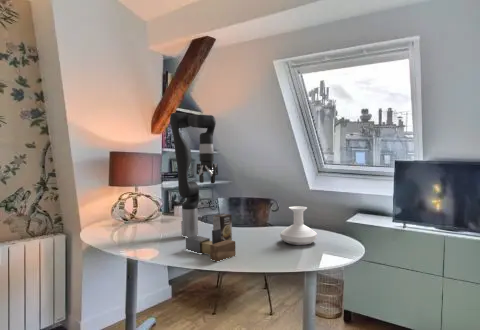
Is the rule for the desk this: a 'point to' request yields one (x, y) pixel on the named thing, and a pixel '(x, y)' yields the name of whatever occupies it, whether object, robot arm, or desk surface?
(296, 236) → the white vase
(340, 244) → the desk surface
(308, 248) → the desk surface
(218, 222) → the coffee box
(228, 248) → the socket
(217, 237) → the tan and grey block
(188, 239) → the grey rectangular box
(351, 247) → the desk surface
